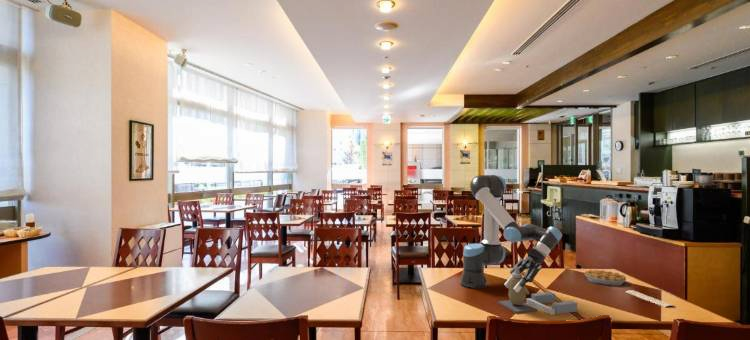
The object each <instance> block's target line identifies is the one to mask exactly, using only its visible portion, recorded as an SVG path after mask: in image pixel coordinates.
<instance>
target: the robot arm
mask: <svg viewBox="0 0 750 340" xmlns="http://www.w3.org/2000/svg"><path fill="white" fill-rule="evenodd" d="M469 188H470V192H471V194H472V196H473V197H474V198H475V200H477V201H479V202H480V203H482V205H483V206H484V207H483V208H484V209H483V210H484V211H483V215H484V216H483V239H482V240H481V241H480V243H469V244H466V245H464V247H463V252H462V256H463V257H462V258H463V263H462V265H463V267H462V269H463V271H462V274H461V277H460V280H459V283H461V284H462V285H464V286H466V287H465V288H468V287H471V288H470V289H477V288H478V289H485V288H487V287H488V281H487V278H486V275H485V269H484V268H485V267H486V266H492V265H493V266H494V265H499V264H501V263H502V262H504V260H505V259H506V249H505V247H504V246H503V245H502V242H501V241H500V240H499V237H500V235H499V233H500V231H499V229H500V227H501V229H503V236H504V239H505V240H506V241H507V242H508V243H518V242H525V241H534V242H536V243H535V244H534V245H533V246H532V248H531V249H530V250H529V251H528V253H527V257H526V258H523V257H520V259H519V260H518V262H517V263H516V264H515V265H514V266H513V267H512V269H510V271H509V273H510V276H509V277H508V278H507V281H506V282H504V286H505V287H506V288H507V289H509V284H510V278H511V277H512V273H514V272H515V268H516V266H518V267H519V272H520V273H521V274H522V273H524V271H525V273H524V276H522V278H523V279H522V278H521V280H520V281H519V282H518V283H517V285H516V286H515V287H514V290H515V291H516V292H517V293H518V292H519V291H520V289H521V288H522V287H523V286H524V285H525V286H526V284H527V283H532V282H533V281H534V279H535V278H536V276H537V275H538V273H539V272H540V271H541V270H542V269H543V266H542V263H543V262H544V261H545V259H546V258H547V256H549V254H550V253H551V252H552V250H553V249H554V248H555V246H556V245H557V244H558V243H559V242H560V240H562V239H561V238H562V237H563V234H562V232H561V231H560V229H558V228H557V227H555V226H549V227H547V228H543V227H539V226H537V225H535V224H533V223H526V222H525V223H524V224H522V225H521V226H520V225H519V224H518V222H516V221H515V219H514V218H513V217H512V216H511V215H510V214H509V212H508V211H507V210H506V209H505V207H504V206H503V205H502V204H501V203H500V201H501V199H502V198H503V195H504V194H505V191H507V183H506V180H505V179H504V178H503V177H502V176H500V175H497V174H495V175H494V174H485V175H483V174H479V175H476V176H474V177H473V178H472V179H471V181H470V185H469ZM461 284H460V285H461ZM462 285H461V286H462ZM464 286H463V287H464Z"/></svg>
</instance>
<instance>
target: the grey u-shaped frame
mask: <svg viewBox="0 0 750 340" xmlns="http://www.w3.org/2000/svg"><path fill="white" fill-rule="evenodd" d="M530 297H531V298H530ZM530 297H529V298H527V297H526V298H525V300H526V301H525V303H527V304H529V305H531V306H533V307H535V308H537V309H539V310H541V311H543V312H544V313H547V314H549V315H551V316H552V315H560V314H561V315H562V314H569V313H577V312H578V302H575V301H573V300H569V301H568V300H567V301H560V302H556V293H554V292H552V291H548V292H539V293H538V292H536V293H531V295H530ZM546 303H547V304H548V303H551V307H550V306H547V305H545V304H546Z"/></svg>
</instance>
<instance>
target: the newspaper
mask: <svg viewBox="0 0 750 340" xmlns="http://www.w3.org/2000/svg"><path fill="white" fill-rule="evenodd" d="M625 293H627V294H629V295H631V296H634V297H637V298H639V299H642V300H644V301H647V302H649V301H650V303H653V304H654V303H655V305H658V306H659V307H662V308H666V307H669V306H670V307H674V308H676V305H673V304H670V303H668V302H665V301H662V300H661V299H659V298H658V299H657V298H654V297H652V296H649V295H646V294H644V293H641V292H639V291H636V290H634V289H629V290H626V291H625Z"/></svg>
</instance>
